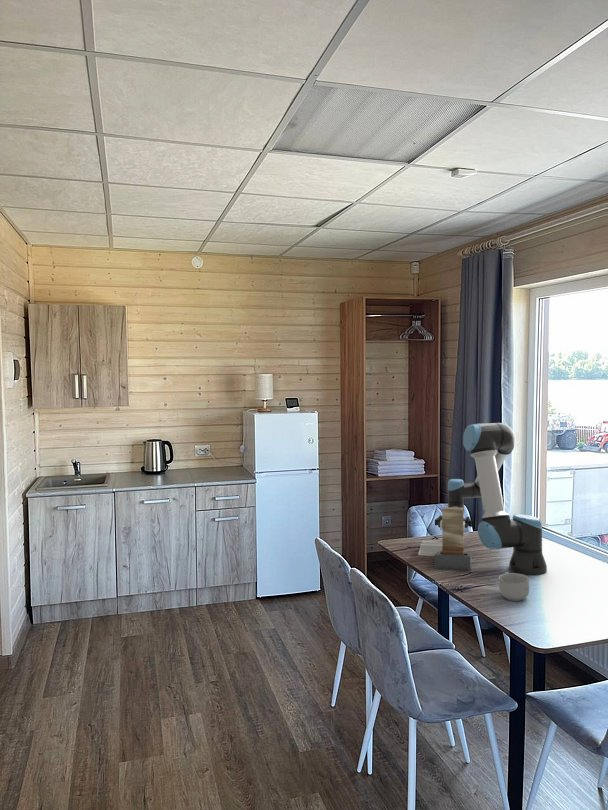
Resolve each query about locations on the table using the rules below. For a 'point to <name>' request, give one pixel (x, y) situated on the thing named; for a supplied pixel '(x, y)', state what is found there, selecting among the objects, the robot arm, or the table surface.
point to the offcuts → (453, 550)
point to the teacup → (514, 586)
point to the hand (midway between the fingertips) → (452, 527)
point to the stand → (430, 548)
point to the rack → (452, 561)
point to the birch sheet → (452, 526)
